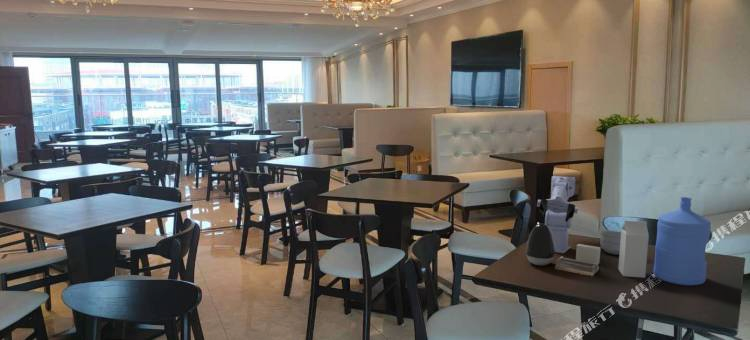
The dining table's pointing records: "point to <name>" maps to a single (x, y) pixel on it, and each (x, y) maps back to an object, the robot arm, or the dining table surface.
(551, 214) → the robot arm
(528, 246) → the egg shaped speaker
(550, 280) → the dining table surface
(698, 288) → the dining table surface
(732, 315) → the dining table surface
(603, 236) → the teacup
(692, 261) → the water jug
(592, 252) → the door panel
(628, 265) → the milk carton
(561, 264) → the door frame
